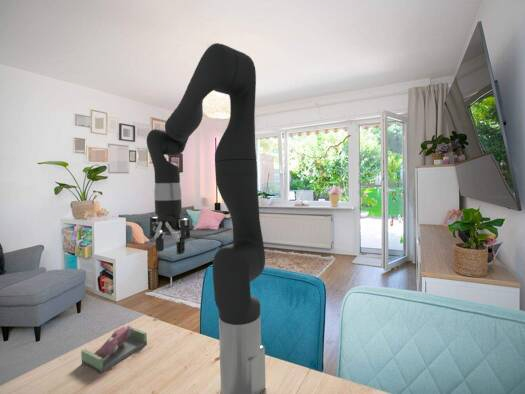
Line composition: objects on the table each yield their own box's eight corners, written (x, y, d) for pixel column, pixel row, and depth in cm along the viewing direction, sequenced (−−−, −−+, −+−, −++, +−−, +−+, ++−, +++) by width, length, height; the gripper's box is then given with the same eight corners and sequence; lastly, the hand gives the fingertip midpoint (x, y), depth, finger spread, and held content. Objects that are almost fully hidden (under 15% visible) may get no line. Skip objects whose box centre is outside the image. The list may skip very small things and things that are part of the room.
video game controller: (105, 368, 69) (115, 345, 69) (90, 359, 70) (100, 336, 69) (128, 345, 79) (138, 324, 78) (115, 337, 80) (124, 317, 79)
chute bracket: (146, 344, 79) (146, 332, 78) (100, 373, 67) (99, 359, 67) (129, 337, 82) (128, 326, 82) (81, 363, 70) (81, 350, 70)
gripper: (195, 198, 80) (196, 252, 81) (161, 197, 87) (163, 247, 88) (175, 199, 73) (177, 258, 74) (141, 199, 80) (143, 252, 81)
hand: (170, 252), depth 81 cm, fingers open, 8 cm apart
